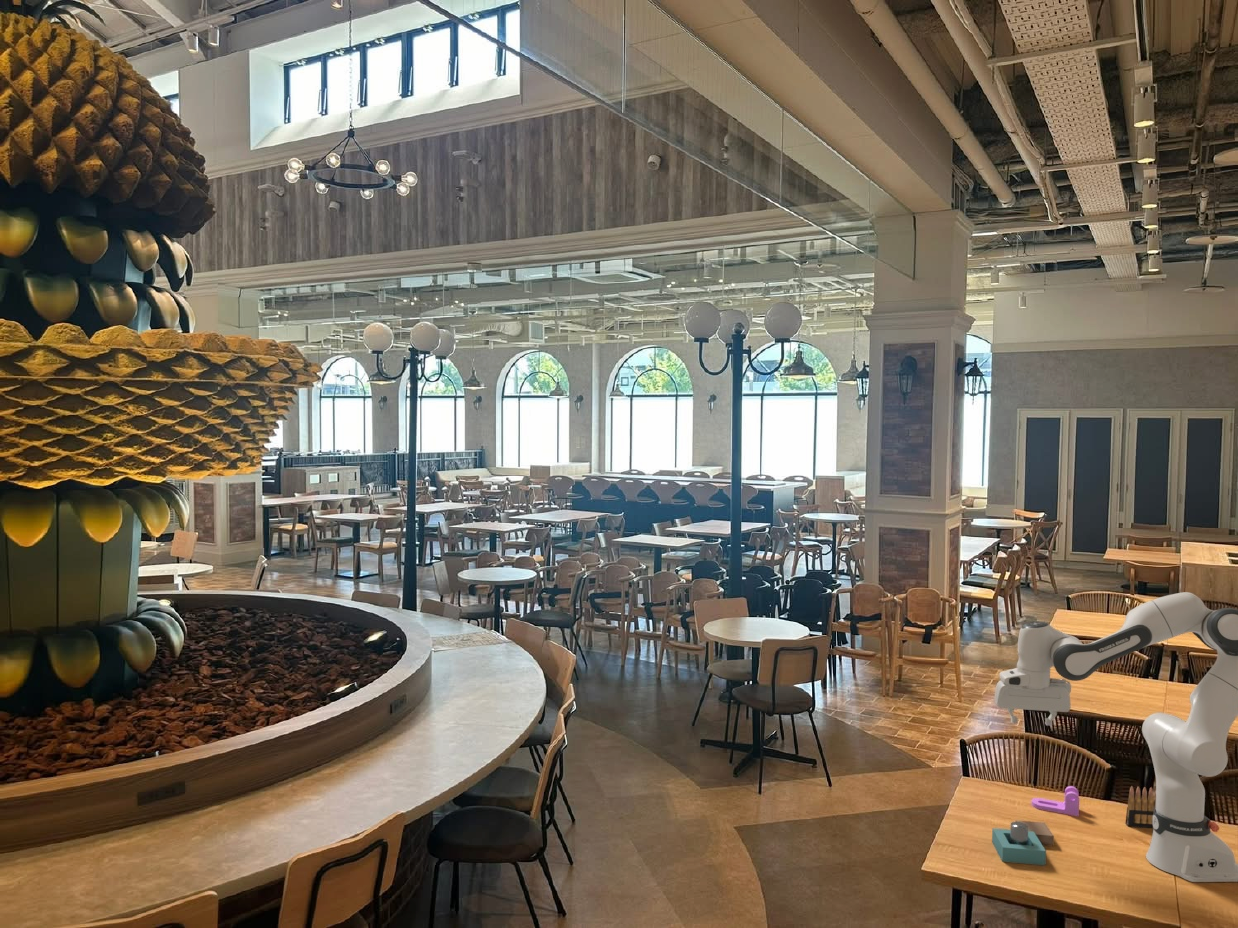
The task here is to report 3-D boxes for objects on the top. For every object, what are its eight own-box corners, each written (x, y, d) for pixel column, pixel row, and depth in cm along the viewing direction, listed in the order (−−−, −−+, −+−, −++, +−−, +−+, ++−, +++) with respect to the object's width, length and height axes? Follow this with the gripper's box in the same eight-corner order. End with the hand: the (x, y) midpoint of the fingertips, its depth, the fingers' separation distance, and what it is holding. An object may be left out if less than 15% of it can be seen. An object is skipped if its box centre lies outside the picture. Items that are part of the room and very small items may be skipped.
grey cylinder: (1024, 850, 246) (1025, 822, 245) (1029, 858, 241) (1030, 829, 241) (1007, 848, 246) (1008, 820, 246) (1012, 856, 242) (1013, 828, 241)
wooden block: (1044, 832, 256) (1044, 822, 256) (1053, 845, 248) (1053, 835, 248) (1015, 830, 257) (1015, 820, 257) (1023, 843, 249) (1023, 833, 249)
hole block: (1033, 845, 248) (1033, 831, 248) (1045, 865, 237) (1045, 850, 237) (991, 841, 250) (992, 828, 250) (1002, 861, 239) (1002, 847, 239)
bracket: (1077, 809, 271) (1078, 787, 271) (1078, 816, 266) (1079, 794, 266) (1031, 800, 277) (1032, 779, 276) (1031, 808, 272) (1032, 786, 271)
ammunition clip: (1164, 826, 260) (1165, 786, 260) (1166, 829, 258) (1168, 789, 258) (1125, 823, 262) (1127, 784, 261) (1128, 826, 260) (1129, 786, 259)
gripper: (1067, 676, 257) (1065, 722, 258) (993, 672, 261) (992, 717, 262) (1075, 682, 251) (1073, 730, 252) (999, 678, 254) (997, 725, 255)
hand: (1031, 723), depth 257 cm, fingers open, 8 cm apart
